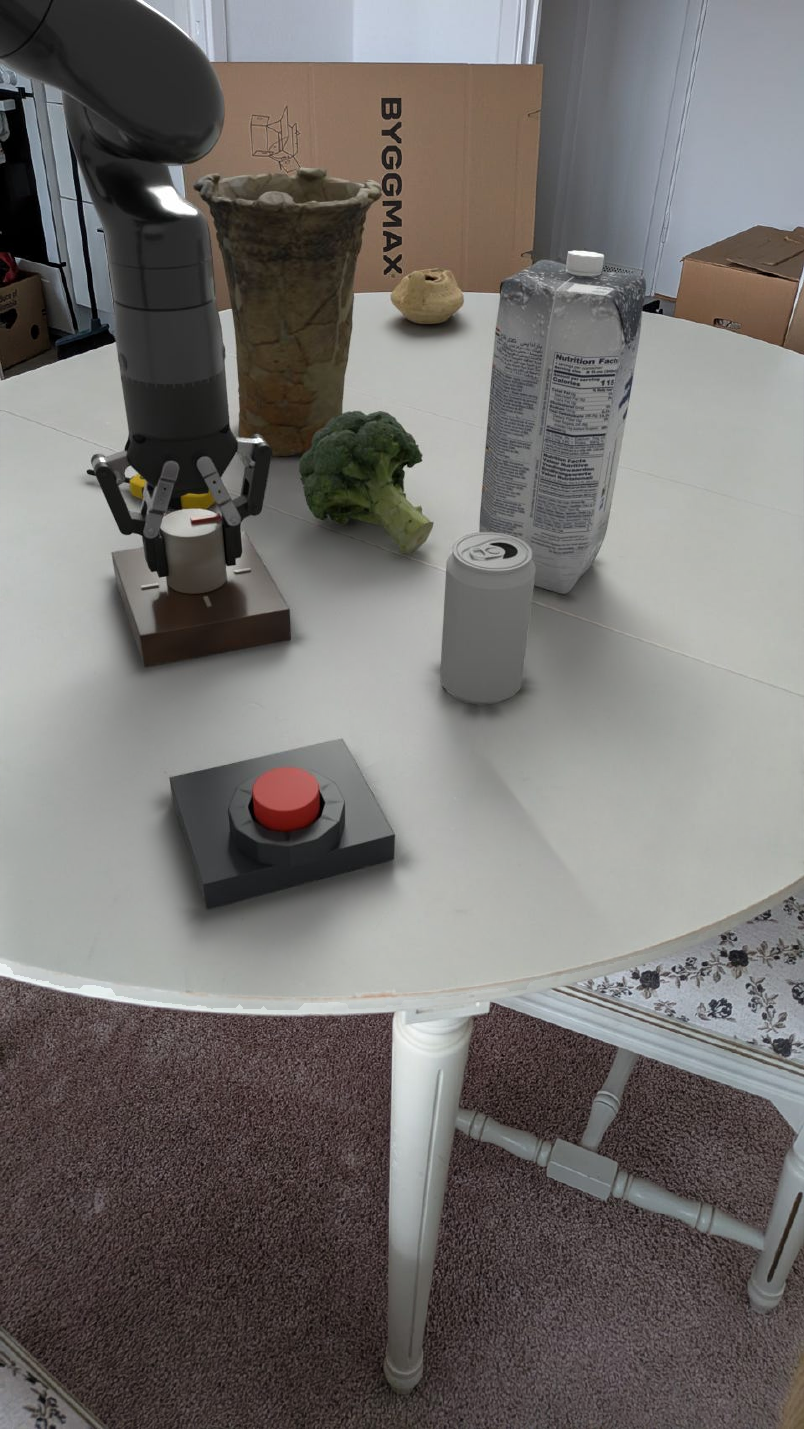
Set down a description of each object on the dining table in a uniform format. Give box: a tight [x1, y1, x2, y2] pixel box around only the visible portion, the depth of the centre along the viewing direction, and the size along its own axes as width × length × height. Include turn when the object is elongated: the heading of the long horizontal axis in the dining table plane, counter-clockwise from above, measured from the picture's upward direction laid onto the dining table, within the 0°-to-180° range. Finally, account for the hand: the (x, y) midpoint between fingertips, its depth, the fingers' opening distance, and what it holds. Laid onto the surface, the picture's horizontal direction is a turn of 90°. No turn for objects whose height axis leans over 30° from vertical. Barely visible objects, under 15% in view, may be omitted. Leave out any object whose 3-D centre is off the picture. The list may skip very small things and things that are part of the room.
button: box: [252, 767, 320, 832], centre depth 60 cm, size 4×4×2 cm
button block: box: [168, 738, 396, 910], centre depth 63 cm, size 12×10×4 cm
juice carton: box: [478, 250, 647, 595], centre depth 84 cm, size 9×10×27 cm
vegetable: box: [298, 410, 435, 556], centre depth 95 cm, size 12×13×15 cm
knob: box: [160, 509, 227, 594], centre depth 82 cm, size 5×5×6 cm
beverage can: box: [439, 531, 536, 706], centre depth 74 cm, size 6×6×12 cm
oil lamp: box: [390, 267, 465, 325], centre depth 150 cm, size 11×15×8 cm
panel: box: [111, 531, 292, 668], centre depth 84 cm, size 12×14×3 cm
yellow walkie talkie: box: [86, 468, 216, 510], centre depth 102 cm, size 5×2×15 cm
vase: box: [193, 166, 383, 458], centre depth 107 cm, size 18×18×27 cm
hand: (195, 566), depth 83 cm, fingers closed on knob, 5 cm apart
